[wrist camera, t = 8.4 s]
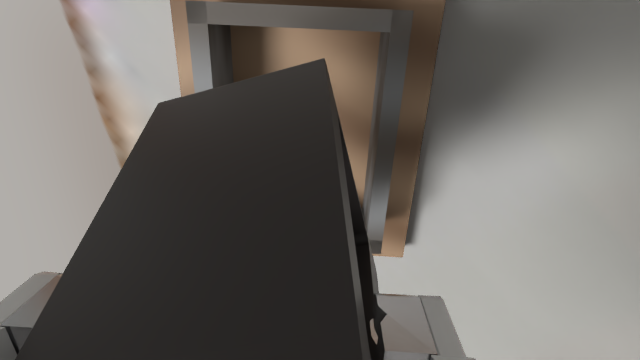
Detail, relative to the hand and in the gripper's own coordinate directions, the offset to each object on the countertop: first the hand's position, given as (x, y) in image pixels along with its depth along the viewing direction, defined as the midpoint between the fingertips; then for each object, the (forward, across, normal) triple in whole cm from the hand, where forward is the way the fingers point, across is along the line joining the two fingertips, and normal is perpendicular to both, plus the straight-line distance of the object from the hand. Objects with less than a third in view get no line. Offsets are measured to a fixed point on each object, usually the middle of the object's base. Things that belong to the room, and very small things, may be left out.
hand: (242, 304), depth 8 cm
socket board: (+18, 0, 0) cm, 18 cm away
